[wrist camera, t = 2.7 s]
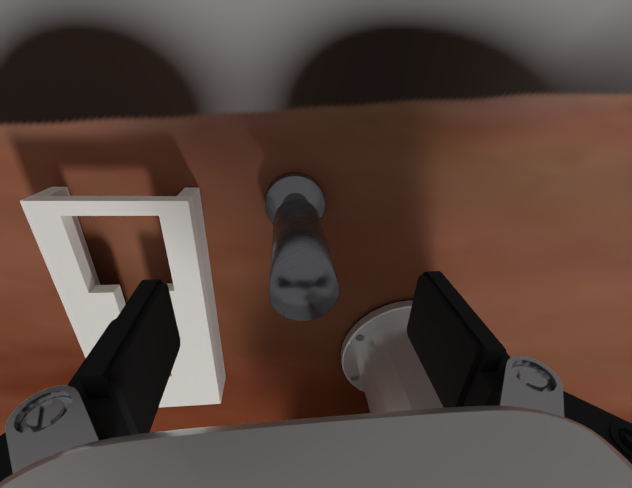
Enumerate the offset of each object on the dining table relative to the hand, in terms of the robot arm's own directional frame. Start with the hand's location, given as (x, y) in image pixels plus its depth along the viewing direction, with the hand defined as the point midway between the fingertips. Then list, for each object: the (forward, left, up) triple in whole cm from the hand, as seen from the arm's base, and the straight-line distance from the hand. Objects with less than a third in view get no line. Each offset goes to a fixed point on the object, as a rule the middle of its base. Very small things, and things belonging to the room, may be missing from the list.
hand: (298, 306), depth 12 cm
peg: (-1, 0, -14) cm, 14 cm away
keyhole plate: (-9, +12, -14) cm, 20 cm away
